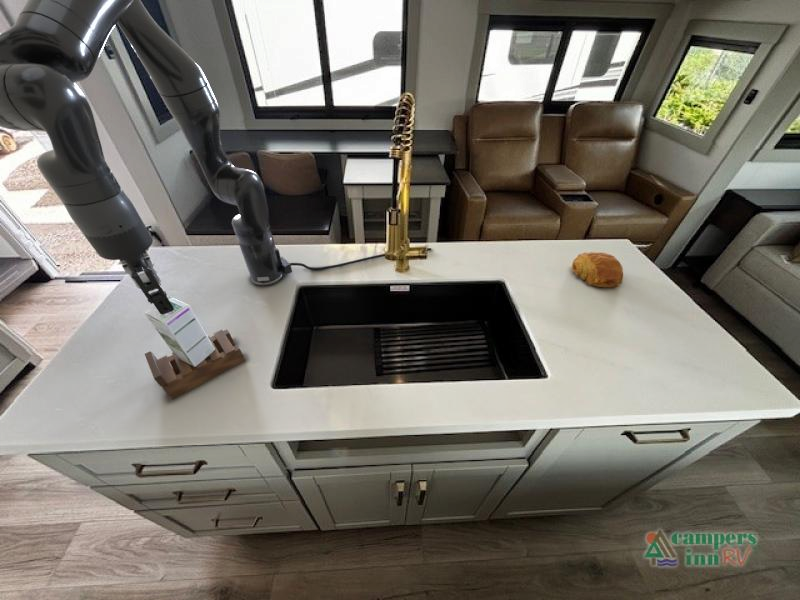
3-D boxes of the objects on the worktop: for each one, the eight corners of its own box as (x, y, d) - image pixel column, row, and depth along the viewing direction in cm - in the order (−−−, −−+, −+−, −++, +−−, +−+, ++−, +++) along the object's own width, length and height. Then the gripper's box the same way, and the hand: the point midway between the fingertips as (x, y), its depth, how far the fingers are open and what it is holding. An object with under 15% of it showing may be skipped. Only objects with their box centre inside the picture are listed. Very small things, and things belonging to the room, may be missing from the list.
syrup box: (216, 349, 73) (190, 302, 64) (194, 368, 69) (162, 322, 60) (198, 340, 75) (170, 294, 65) (175, 359, 71) (142, 312, 61)
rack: (232, 340, 82) (221, 318, 76) (245, 360, 77) (235, 338, 72) (162, 375, 74) (144, 353, 68) (172, 399, 69) (153, 378, 64)
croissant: (564, 266, 113) (569, 246, 108) (612, 264, 111) (620, 244, 106) (577, 292, 102) (584, 272, 97) (631, 291, 100) (641, 270, 95)
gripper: (150, 233, 48) (194, 310, 59) (129, 198, 55) (172, 273, 66) (87, 251, 44) (148, 330, 55) (74, 212, 52) (129, 288, 63)
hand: (161, 299), depth 61 cm, fingers open, 8 cm apart
